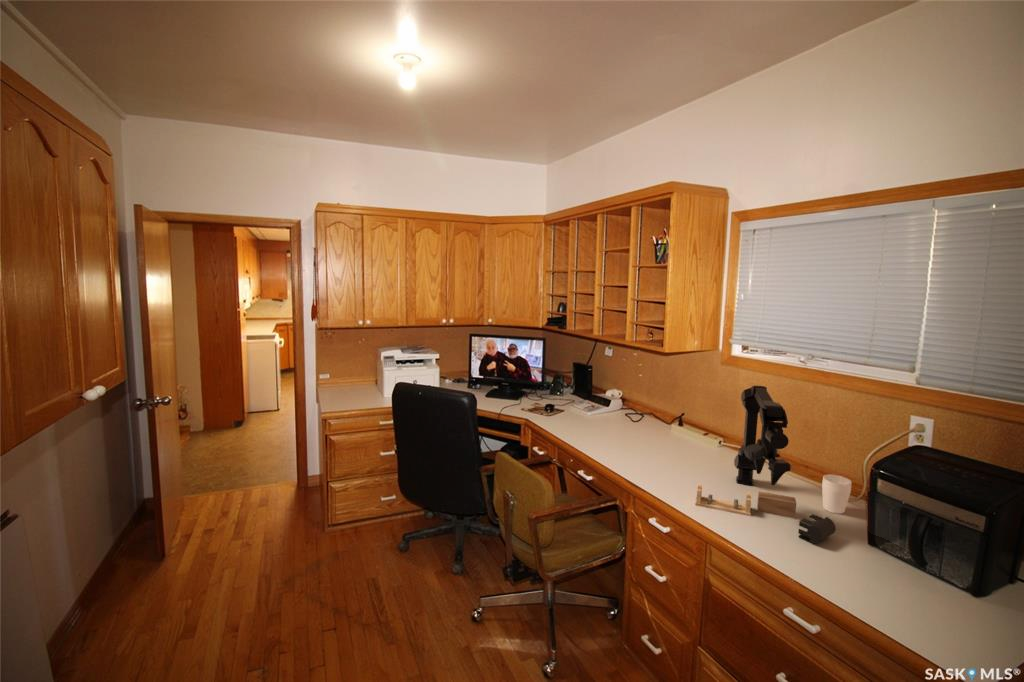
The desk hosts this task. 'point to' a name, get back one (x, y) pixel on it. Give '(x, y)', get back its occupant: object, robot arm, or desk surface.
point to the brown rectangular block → (776, 504)
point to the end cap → (816, 529)
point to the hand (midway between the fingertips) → (765, 479)
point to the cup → (835, 493)
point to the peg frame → (724, 503)
